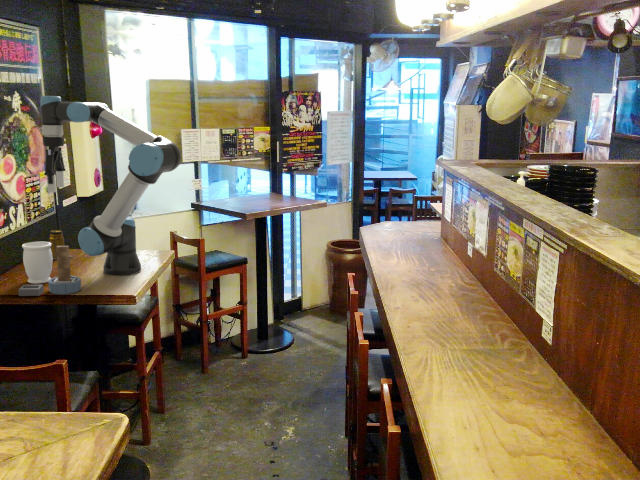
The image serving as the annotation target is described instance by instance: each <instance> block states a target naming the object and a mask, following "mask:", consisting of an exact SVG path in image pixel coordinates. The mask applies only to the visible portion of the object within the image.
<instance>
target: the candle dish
mask: <svg viewBox="0 0 640 480" xmlns="http://www.w3.org/2000/svg"><path fill="white" fill-rule="evenodd" d="M47 284H48V290H49V293H50V294H52V295H57V296H58V295H62V296H63V295H70V294H71V295H72V294H76V293H78V292H80V291H81V290H82V278H81V277H80V276H77V275H76V276H75V275H71V281H58V276H54V277H52V278H51V279H50V280H49V281H48V282H47Z"/></svg>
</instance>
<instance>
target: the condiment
mask: <svg viewBox="0 0 640 480" xmlns="http://www.w3.org/2000/svg"><path fill="white" fill-rule="evenodd" d="M49 242H50V243H51V247H50V249H51V251H52V258H53V260H57V252H56V247H57V246H65V237H64V233H63V231H62V230H61V229H60V230H59V229H56V230H55V229H54V230H50V232H49ZM69 256H70V258H71V257H72V258H73V256H72V255H70V254H69Z"/></svg>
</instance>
